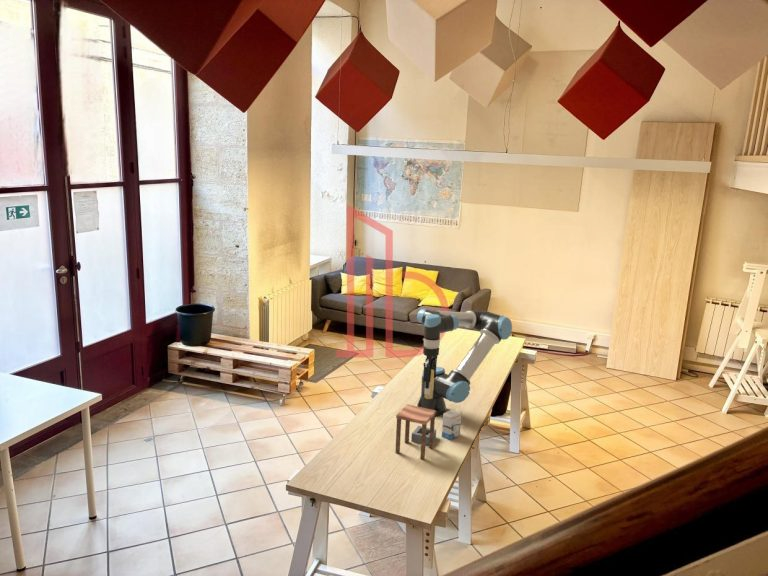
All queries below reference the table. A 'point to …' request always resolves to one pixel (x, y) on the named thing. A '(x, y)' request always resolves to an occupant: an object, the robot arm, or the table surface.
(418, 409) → the wooden stool
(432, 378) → the peg
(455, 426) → the ink box
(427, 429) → the socket block
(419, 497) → the table surface
